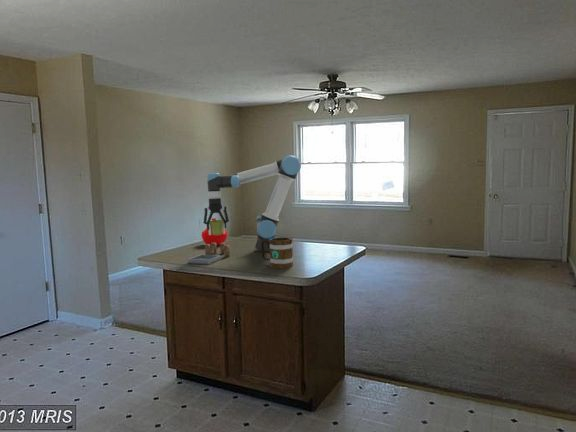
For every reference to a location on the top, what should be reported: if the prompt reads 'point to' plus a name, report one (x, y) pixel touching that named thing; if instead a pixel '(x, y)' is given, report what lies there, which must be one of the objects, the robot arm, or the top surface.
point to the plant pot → (216, 227)
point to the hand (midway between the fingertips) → (217, 234)
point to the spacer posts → (212, 250)
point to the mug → (279, 252)
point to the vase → (213, 237)
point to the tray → (204, 259)
